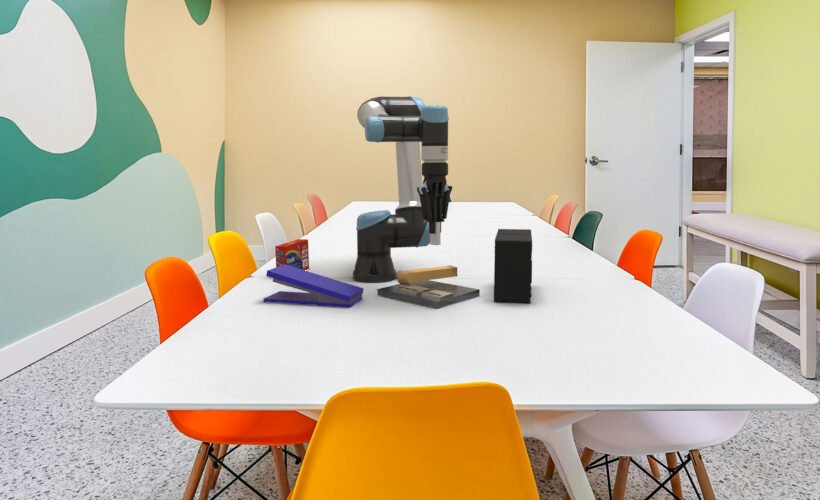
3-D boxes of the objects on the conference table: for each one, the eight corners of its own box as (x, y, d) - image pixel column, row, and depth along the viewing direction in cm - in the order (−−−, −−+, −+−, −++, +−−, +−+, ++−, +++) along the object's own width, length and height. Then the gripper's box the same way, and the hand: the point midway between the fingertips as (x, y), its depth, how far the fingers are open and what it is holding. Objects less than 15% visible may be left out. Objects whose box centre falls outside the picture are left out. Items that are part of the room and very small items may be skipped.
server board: (377, 295, 179) (377, 286, 179) (420, 284, 194) (420, 276, 194) (437, 308, 163) (437, 299, 163) (479, 295, 178) (479, 287, 177)
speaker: (531, 304, 168) (533, 240, 165) (493, 302, 170) (494, 239, 167) (530, 285, 192) (532, 229, 189) (497, 284, 194) (498, 228, 191)
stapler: (280, 294, 183) (279, 263, 181) (365, 299, 176) (364, 267, 174) (262, 303, 172) (260, 270, 171) (351, 309, 165) (350, 275, 163)
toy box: (299, 269, 222) (298, 239, 220) (309, 269, 221) (308, 239, 219) (276, 278, 205) (275, 246, 203) (286, 279, 204) (285, 246, 202)
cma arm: (401, 284, 181) (401, 273, 180) (395, 281, 184) (395, 271, 184) (457, 276, 191) (457, 267, 190) (450, 274, 194) (450, 265, 193)
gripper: (429, 161, 158) (429, 248, 161) (459, 161, 167) (459, 243, 170) (409, 162, 163) (410, 245, 166) (439, 161, 172) (440, 241, 176)
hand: (435, 244), depth 168 cm, fingers closed
